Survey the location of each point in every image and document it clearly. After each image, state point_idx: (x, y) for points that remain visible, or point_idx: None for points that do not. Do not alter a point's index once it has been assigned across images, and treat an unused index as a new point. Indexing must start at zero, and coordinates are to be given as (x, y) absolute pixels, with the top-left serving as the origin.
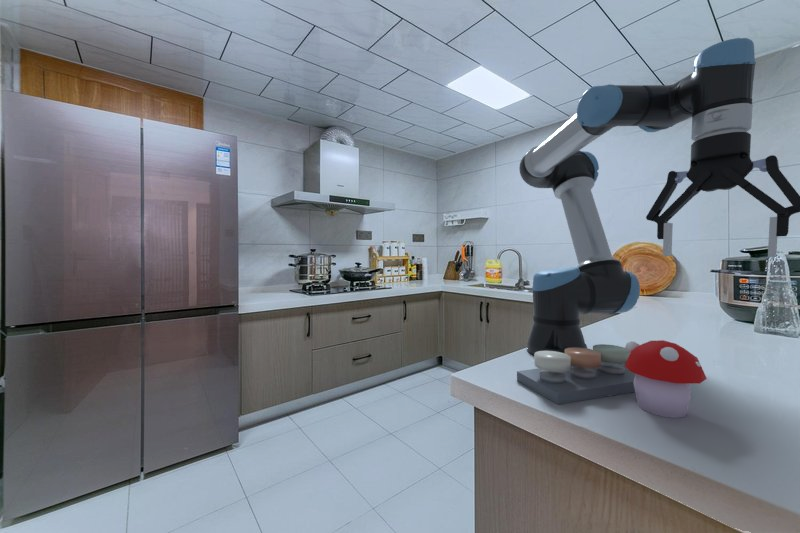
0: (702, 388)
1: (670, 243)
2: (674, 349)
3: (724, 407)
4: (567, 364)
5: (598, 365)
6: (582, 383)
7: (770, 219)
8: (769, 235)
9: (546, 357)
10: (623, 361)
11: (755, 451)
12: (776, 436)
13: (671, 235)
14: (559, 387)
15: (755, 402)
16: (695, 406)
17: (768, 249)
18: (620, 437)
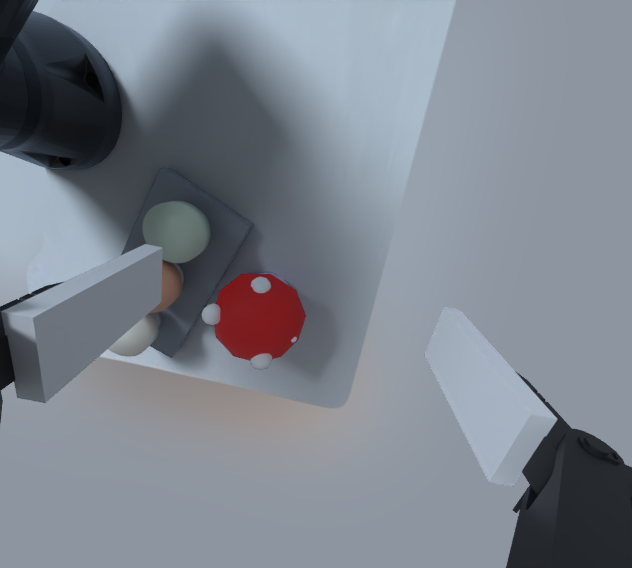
0: (310, 175)
1: (130, 293)
2: (265, 365)
3: (329, 244)
4: (152, 338)
5: (180, 291)
6: (180, 309)
7: (484, 472)
8: (452, 408)
9: (122, 347)
10: (203, 250)
11: (340, 344)
12: (363, 300)
13: (100, 295)
14: (165, 339)
15: (366, 196)
16: (300, 262)
17: (433, 370)
18: (246, 382)
